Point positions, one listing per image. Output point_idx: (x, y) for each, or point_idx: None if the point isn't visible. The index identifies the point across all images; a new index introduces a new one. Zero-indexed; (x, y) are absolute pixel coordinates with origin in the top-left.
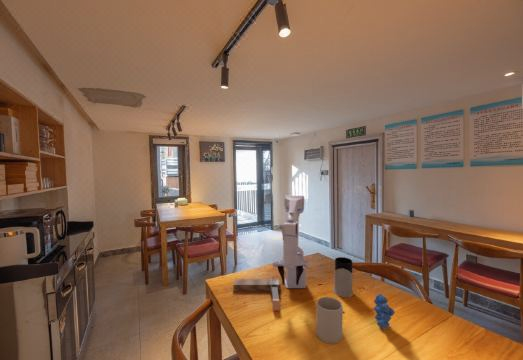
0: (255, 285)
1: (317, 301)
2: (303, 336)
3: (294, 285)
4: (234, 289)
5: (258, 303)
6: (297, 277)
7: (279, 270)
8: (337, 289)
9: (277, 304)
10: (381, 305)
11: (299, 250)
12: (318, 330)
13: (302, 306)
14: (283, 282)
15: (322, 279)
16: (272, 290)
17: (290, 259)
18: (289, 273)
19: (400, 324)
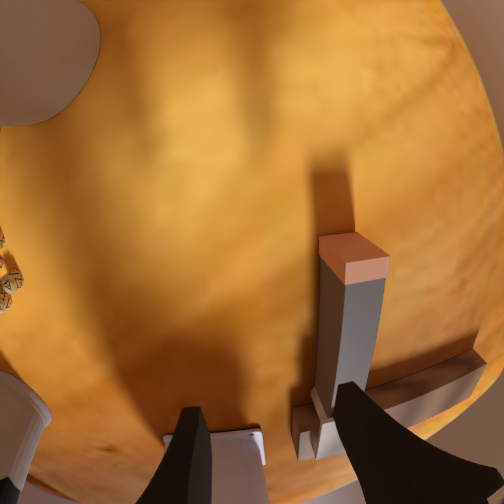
0: (417, 394)
1: None
2: (179, 12)
3: (219, 443)
4: (473, 353)
5: (415, 291)
6: (187, 481)
7: (501, 483)
8: (21, 405)
9: (348, 249)
10: None
11: None
12: (84, 10)
13: (166, 300)
14: (361, 399)
15: (109, 467)
16: (367, 371)
17: None
18: (252, 493)
19: None
